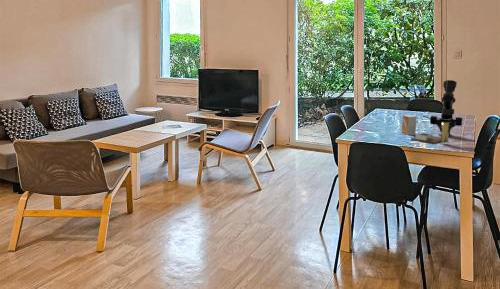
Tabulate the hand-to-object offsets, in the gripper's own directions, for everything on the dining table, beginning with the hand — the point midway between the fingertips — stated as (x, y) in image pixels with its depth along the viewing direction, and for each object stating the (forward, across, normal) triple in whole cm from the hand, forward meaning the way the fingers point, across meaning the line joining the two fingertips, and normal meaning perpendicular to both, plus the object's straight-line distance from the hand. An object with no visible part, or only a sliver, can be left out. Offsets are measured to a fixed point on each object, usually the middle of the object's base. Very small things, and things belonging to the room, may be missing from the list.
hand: (444, 131), depth 284 cm
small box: (-14, -24, +26) cm, 38 cm away
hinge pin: (+4, 0, +6) cm, 7 cm away
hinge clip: (0, -12, +11) cm, 16 cm away
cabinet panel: (-2, -10, +14) cm, 17 cm away
